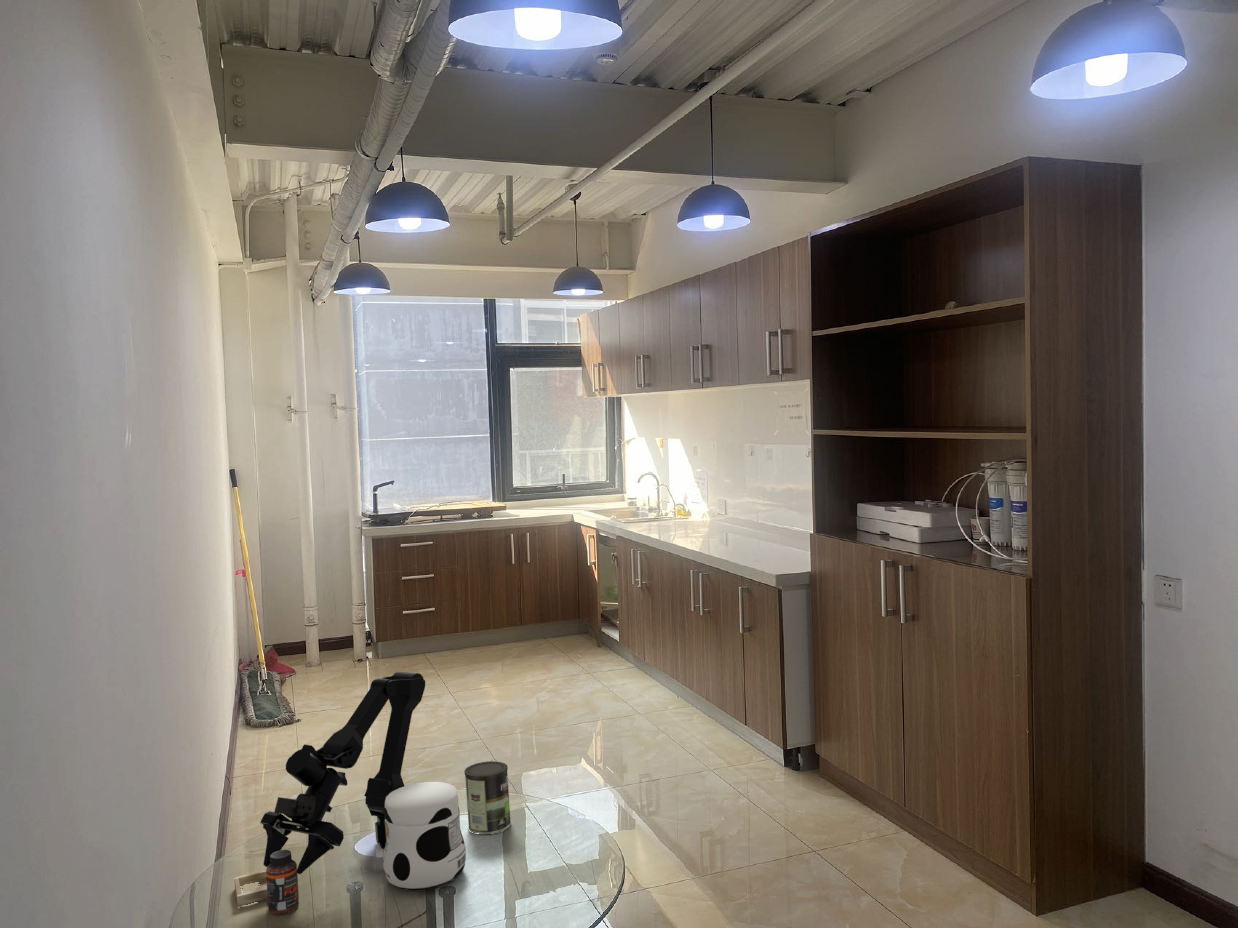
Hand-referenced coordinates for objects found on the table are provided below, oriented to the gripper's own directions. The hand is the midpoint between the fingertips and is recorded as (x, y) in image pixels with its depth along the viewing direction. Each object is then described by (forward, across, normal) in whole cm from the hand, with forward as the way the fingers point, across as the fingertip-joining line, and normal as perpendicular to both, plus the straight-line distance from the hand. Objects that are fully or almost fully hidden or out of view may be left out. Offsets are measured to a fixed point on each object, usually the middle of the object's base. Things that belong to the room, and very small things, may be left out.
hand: (281, 869), depth 188 cm
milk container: (-9, +20, +20) cm, 30 cm away
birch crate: (+3, -10, +8) cm, 13 cm away
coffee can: (-28, +17, +39) cm, 51 cm away
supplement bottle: (+6, 0, +6) cm, 8 cm away
